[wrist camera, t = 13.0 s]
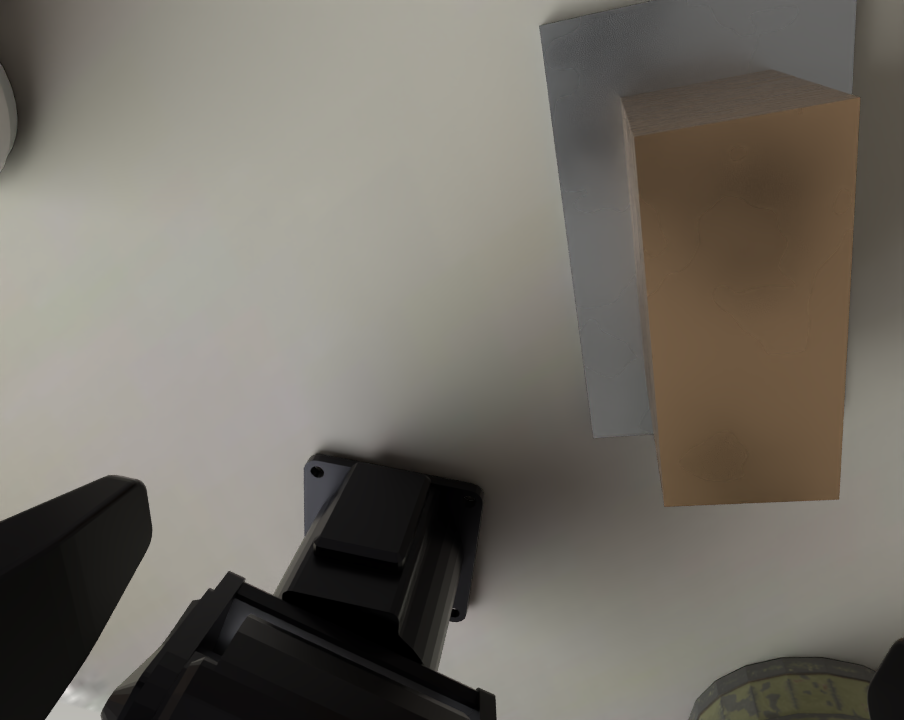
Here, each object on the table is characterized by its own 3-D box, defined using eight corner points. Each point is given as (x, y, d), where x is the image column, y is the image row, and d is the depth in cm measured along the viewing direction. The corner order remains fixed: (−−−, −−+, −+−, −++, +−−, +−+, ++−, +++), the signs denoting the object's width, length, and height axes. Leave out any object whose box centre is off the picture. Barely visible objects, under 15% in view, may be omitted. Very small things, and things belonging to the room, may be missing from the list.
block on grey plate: (828, 407, 20) (925, 569, 14) (593, 424, 22) (594, 575, 16) (846, -43, 15) (1007, -76, 9) (541, 25, 17) (515, 32, 11)
